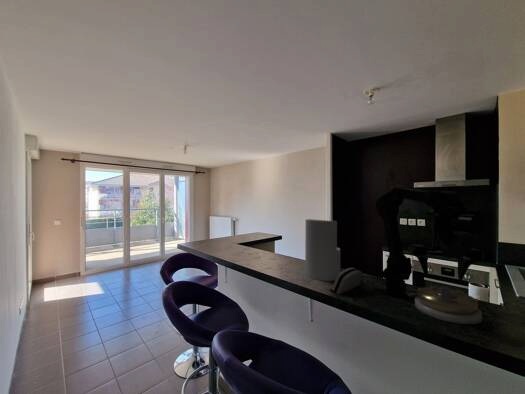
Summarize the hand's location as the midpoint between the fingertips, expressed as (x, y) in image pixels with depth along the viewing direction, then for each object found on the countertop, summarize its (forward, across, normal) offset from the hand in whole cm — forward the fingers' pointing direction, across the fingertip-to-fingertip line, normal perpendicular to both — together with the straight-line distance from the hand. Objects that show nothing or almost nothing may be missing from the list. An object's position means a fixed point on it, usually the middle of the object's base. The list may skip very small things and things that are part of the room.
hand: (442, 278), depth 77 cm
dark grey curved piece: (+14, -28, +18) cm, 36 cm away
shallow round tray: (+10, +3, +6) cm, 12 cm away
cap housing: (+13, +3, +6) cm, 14 cm away
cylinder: (+14, -39, +35) cm, 54 cm away
